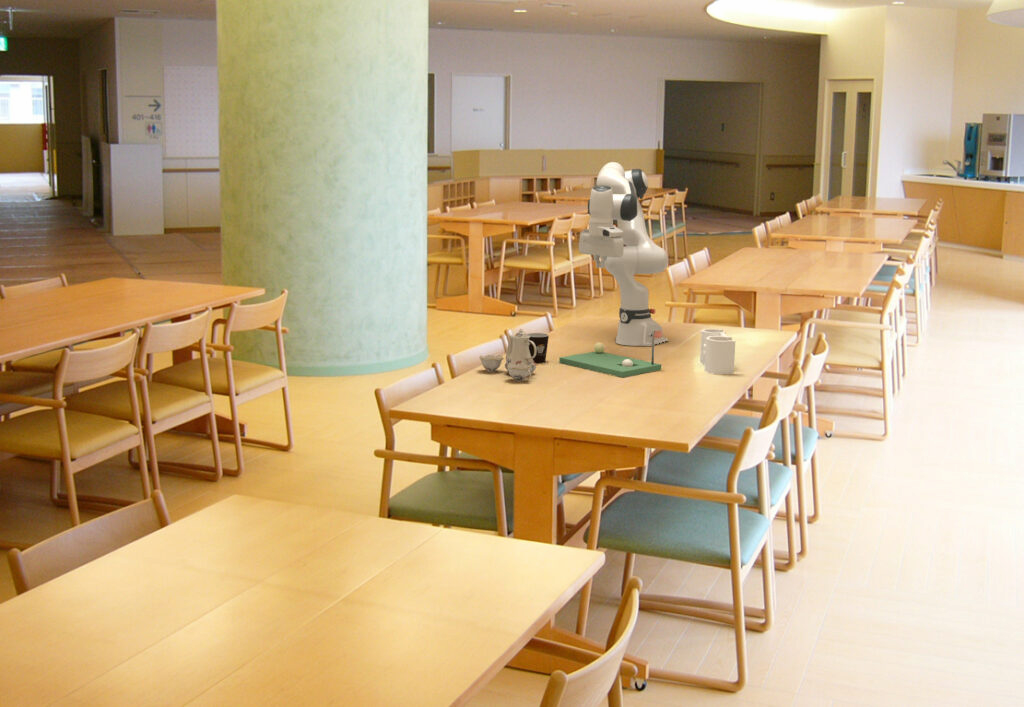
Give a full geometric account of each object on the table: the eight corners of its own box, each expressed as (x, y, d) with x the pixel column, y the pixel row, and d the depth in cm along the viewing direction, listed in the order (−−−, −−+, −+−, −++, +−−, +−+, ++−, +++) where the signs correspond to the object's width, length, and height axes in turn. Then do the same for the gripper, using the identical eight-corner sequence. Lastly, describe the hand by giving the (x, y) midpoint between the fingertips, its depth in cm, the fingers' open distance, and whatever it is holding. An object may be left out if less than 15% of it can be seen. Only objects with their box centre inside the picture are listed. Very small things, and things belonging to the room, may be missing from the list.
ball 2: (636, 362, 395) (632, 372, 396) (629, 357, 398) (625, 367, 399) (629, 361, 392) (625, 371, 393) (622, 356, 395) (617, 366, 396)
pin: (659, 362, 399) (660, 329, 397) (661, 363, 399) (662, 330, 396) (650, 364, 396) (651, 331, 394) (652, 364, 396) (653, 331, 393)
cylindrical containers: (696, 360, 414) (697, 328, 412) (722, 360, 414) (724, 328, 412) (706, 374, 390) (708, 341, 388) (734, 375, 390) (736, 341, 387)
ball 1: (599, 351, 419) (599, 341, 418) (606, 353, 416) (606, 342, 415) (591, 352, 417) (591, 342, 416) (599, 354, 414) (599, 343, 413)
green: (598, 356, 421) (598, 350, 420) (661, 369, 397) (661, 364, 396) (559, 362, 408) (559, 357, 407) (622, 377, 384) (622, 371, 384)
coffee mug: (549, 359, 414) (549, 333, 412) (547, 364, 405) (548, 337, 403) (518, 358, 415) (518, 332, 413) (515, 363, 406) (516, 336, 404)
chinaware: (471, 375, 394) (467, 330, 389) (508, 364, 403) (504, 320, 399) (521, 389, 372) (517, 342, 368) (558, 378, 382) (555, 331, 378)
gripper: (575, 228, 414) (574, 265, 417) (614, 232, 399) (613, 271, 402) (587, 227, 418) (586, 264, 421) (626, 231, 403) (625, 269, 406)
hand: (600, 267), depth 411 cm, fingers closed
